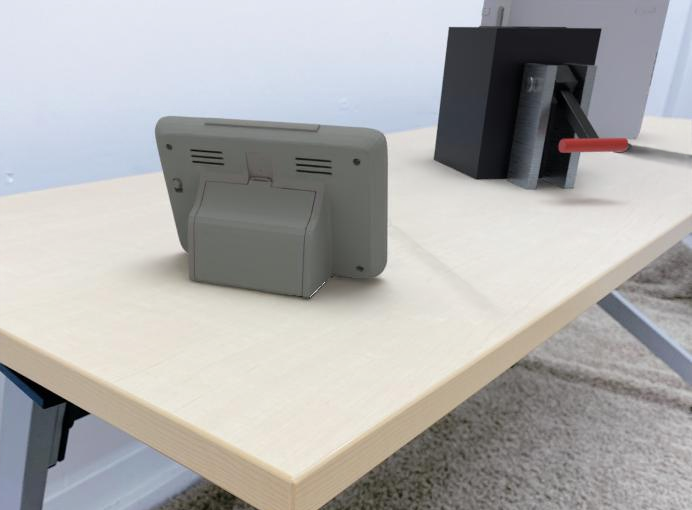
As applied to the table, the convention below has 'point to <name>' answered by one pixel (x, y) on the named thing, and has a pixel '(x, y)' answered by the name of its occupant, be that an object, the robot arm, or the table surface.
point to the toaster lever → (579, 119)
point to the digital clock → (276, 200)
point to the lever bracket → (534, 126)
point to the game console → (602, 50)
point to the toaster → (497, 90)
